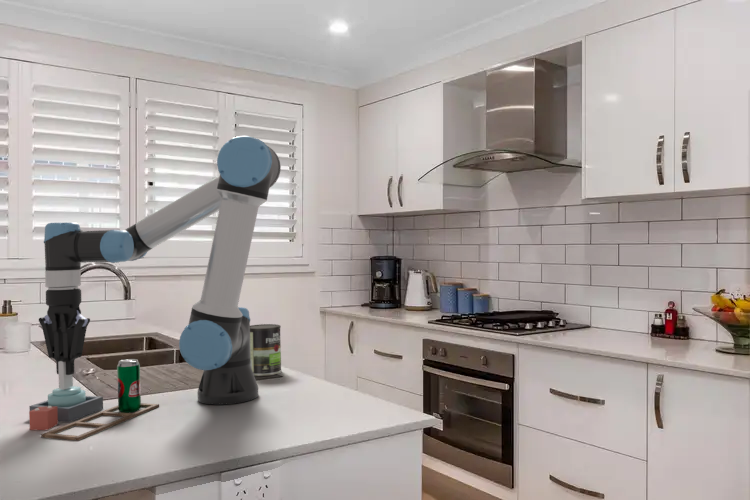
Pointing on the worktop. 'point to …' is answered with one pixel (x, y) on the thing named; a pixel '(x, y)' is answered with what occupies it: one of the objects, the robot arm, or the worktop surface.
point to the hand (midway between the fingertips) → (65, 388)
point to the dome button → (66, 397)
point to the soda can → (129, 386)
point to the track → (99, 426)
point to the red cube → (43, 418)
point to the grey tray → (75, 408)
